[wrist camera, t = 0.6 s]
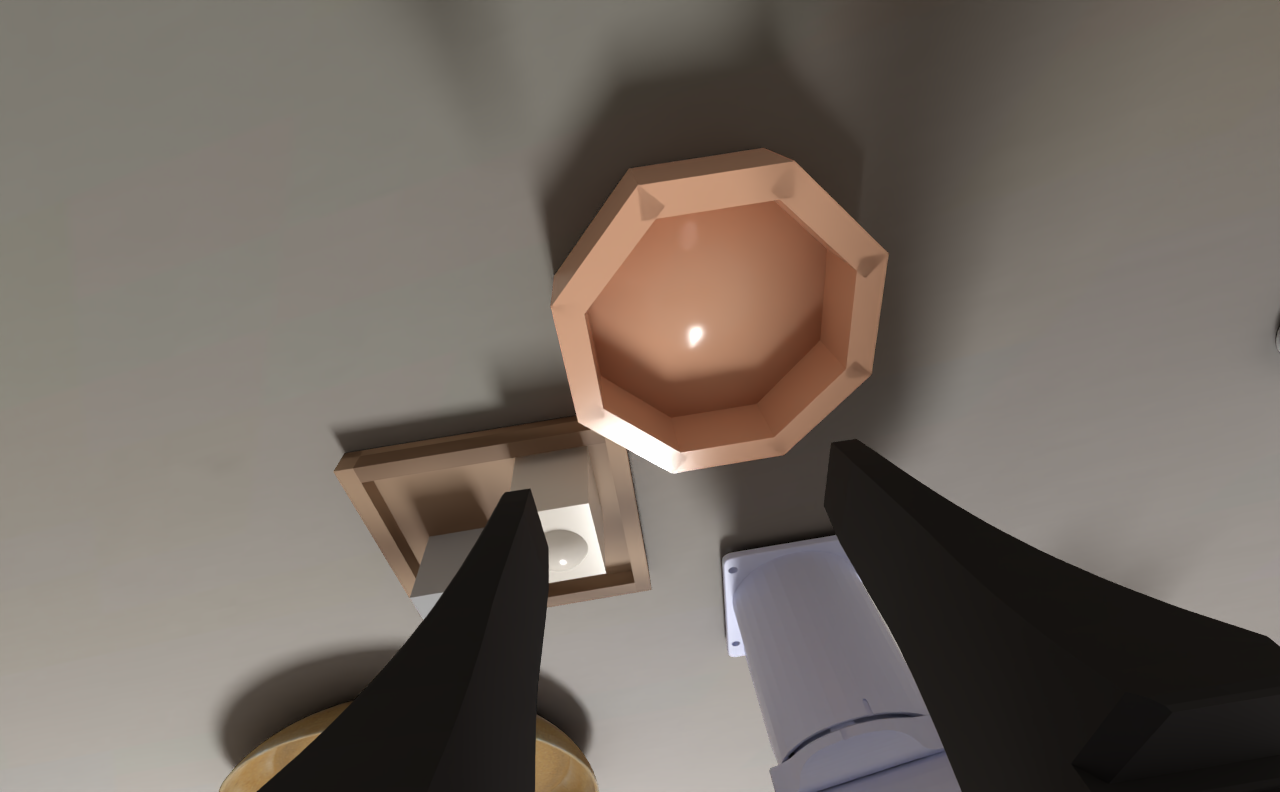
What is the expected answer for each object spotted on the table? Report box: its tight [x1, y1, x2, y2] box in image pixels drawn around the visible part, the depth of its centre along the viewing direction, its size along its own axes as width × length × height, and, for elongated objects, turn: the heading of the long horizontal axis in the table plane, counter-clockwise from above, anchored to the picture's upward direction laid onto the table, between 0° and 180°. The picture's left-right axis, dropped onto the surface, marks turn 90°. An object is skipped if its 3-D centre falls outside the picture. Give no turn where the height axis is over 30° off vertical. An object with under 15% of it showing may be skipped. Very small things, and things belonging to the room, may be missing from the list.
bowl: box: [550, 147, 889, 474], centre depth 19 cm, size 11×11×3 cm
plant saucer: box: [219, 701, 599, 792], centre depth 36 cm, size 24×24×3 cm
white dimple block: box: [510, 446, 606, 583], centre depth 22 cm, size 4×3×4 cm
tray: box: [334, 416, 651, 620], centre depth 25 cm, size 11×12×1 cm
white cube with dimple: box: [410, 528, 484, 620], centre depth 24 cm, size 4×3×4 cm
